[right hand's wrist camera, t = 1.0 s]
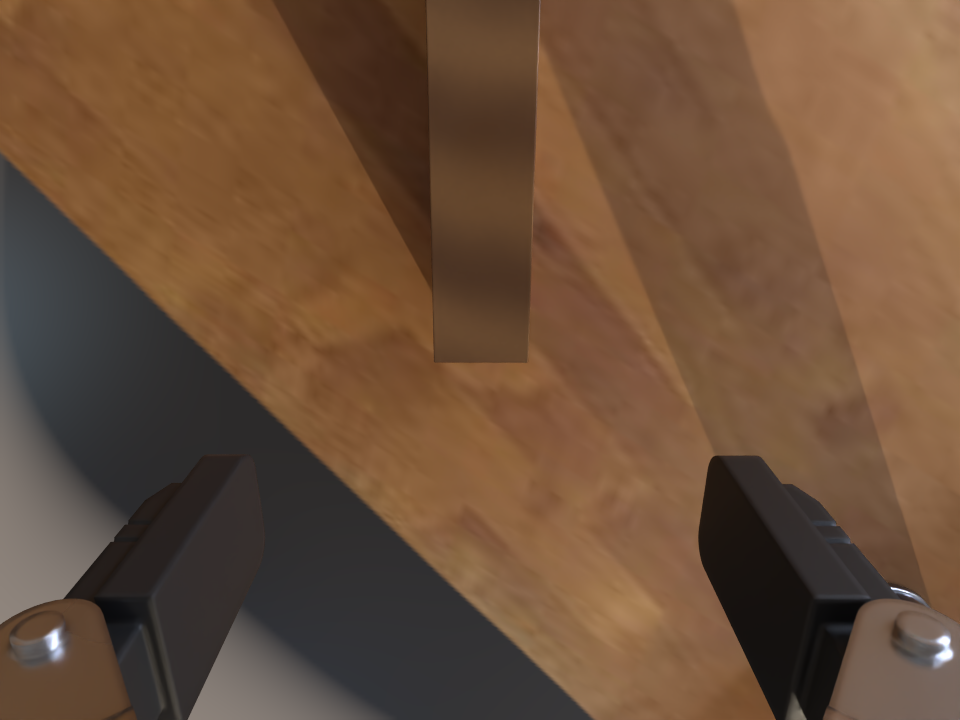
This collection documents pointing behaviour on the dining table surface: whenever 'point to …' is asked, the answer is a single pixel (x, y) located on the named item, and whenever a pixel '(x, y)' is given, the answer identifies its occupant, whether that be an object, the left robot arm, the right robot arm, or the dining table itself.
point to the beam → (482, 175)
